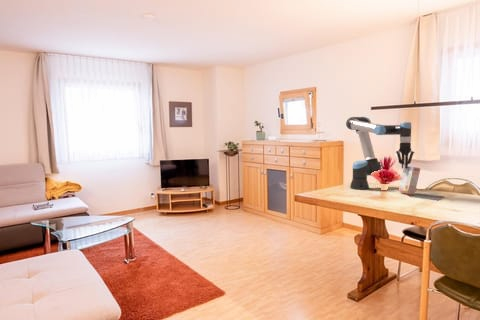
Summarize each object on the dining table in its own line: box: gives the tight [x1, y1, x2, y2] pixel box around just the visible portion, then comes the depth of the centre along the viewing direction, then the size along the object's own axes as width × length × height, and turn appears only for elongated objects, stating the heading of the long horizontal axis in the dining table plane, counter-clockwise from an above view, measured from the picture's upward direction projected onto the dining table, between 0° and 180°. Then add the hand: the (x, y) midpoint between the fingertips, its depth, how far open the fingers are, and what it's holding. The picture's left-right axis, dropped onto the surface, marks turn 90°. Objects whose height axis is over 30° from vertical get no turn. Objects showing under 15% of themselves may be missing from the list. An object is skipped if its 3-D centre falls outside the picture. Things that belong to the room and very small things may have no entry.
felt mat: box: [408, 192, 445, 201], centre depth 235 cm, size 19×16×1 cm
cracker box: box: [398, 165, 421, 196], centre depth 245 cm, size 14×6×21 cm, turn 179°
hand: (404, 172), depth 245 cm, fingers closed
